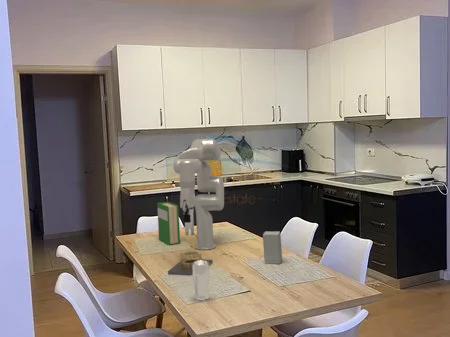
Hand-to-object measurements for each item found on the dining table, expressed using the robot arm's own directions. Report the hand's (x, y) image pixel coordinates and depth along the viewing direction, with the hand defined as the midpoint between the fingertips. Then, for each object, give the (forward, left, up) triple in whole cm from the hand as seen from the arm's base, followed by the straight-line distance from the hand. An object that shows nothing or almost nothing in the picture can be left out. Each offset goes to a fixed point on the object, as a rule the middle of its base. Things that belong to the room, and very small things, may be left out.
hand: (189, 221), depth 225 cm
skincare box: (-16, +39, -24) cm, 49 cm away
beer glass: (+38, +18, -24) cm, 48 cm away
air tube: (0, 0, -7) cm, 7 cm away
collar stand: (0, 0, -24) cm, 24 cm away
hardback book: (-50, -32, -24) cm, 64 cm away
